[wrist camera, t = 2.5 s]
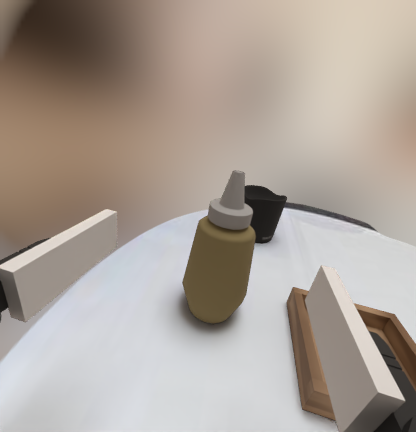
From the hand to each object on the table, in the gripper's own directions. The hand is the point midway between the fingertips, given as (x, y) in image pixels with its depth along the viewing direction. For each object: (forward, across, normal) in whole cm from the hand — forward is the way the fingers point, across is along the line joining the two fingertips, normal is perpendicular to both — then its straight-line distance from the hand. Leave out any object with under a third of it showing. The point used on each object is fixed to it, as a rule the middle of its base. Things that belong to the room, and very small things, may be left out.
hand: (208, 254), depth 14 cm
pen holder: (+34, +6, -14) cm, 37 cm away
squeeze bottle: (+10, 0, -15) cm, 18 cm away
